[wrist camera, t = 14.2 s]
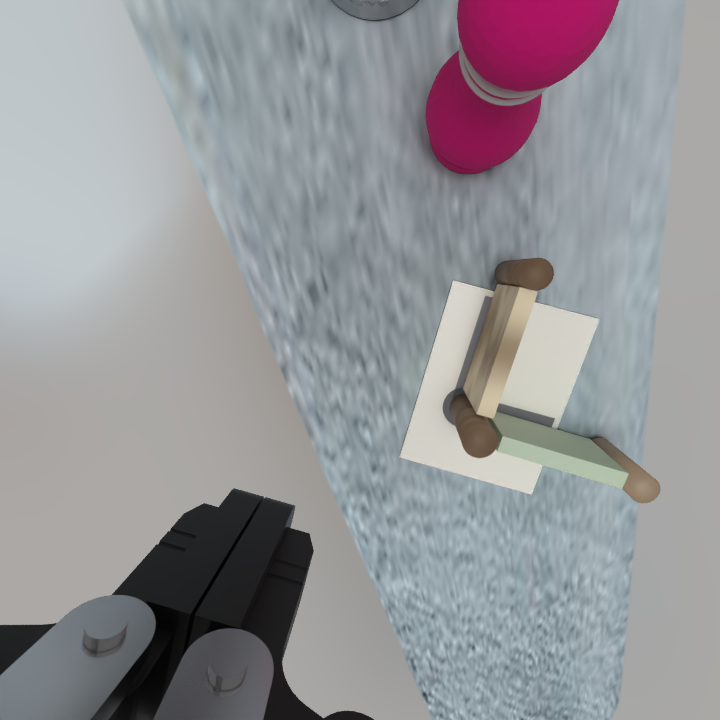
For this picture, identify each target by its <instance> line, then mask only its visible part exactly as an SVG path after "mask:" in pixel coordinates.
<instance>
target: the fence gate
mask: <svg viewBox="0 0 720 720" xmlns="http://www.w3.org/2000/svg"><path fill="white" fill-rule="evenodd" d="M486 418H487V419H488V421H489V423H490V424H491V426H492V428H493V430H494V431H495V433H496V435H497V438H498V445H497V448H496V450H497V452H500V453H504V454H507V455H510V456H514V457H517V458H521V459H524V460H527V461H531V462H534V463H537V464H541V465H544V466H547V467H551V468H554V469H557V470H561V471H564V472H567V473H571V474H574V475H578V476H581V477H584V478H588V479H591V480H594V481H598V482H601V483H604V484H608V485H611V486H614V487H618V488H621V489H623V490H624V491H625V492H626V493H627V494H628V495H629V496H630V497H631V498H632V499H633V500H634V501H636V502H639V503H648V502H651V501H653V500H654V499H656V497H657V496H658V495H659V493H660V485H659V483H658V481H657V480H656V479H654V478H653V477H652V476H651V475H650V474H648V473H647V472H646V471H645V470H643V469H642V468H641V467H640V466H639V465H637V464H636V463H635V462H634V461H632V460H631V459H630V458H629V457H628V456H626V455H625V454H624V453H623V452H621V451H620V450H619V449H618V448H617V447H615V446H614V445H613V444H612V443H610V442H609V441H608V440H606V439H604V438H595V439H593V440H591V439H588V438H585V437H581V436H578V435H574V434H571V433H568V432H564V431H561V430H557V429H554V428H551V427H547V426H544V425H540V424H537V423H534V422H530V421H527V420H524V419H520V418H517V417H513V416H510V415H507V414H503V413H500V412H496V413H495V416H494V419H492V418H489V417H486Z"/></svg>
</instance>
